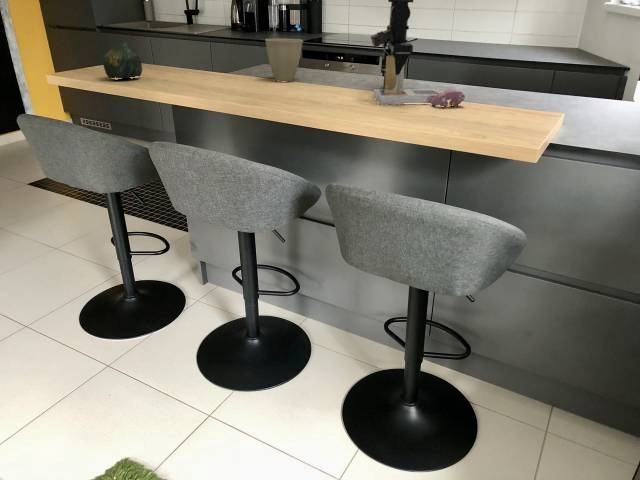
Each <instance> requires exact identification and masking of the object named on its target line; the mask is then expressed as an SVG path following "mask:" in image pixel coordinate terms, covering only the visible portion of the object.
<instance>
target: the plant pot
mask: <svg viewBox="0 0 640 480" xmlns="http://www.w3.org/2000/svg"><path fill="white" fill-rule="evenodd" d="M264 40H265V47H266V52H267V57H268V58H267V59H268V60H269V61H268V62H269V66H270V69H271V72H272V75H273V78H274V80H279V81H292V82H293V81H294V80H295V77H296V74H297V71H298V68H299V64H300V60H301V54H302V48H303V41H304V40H303V39H298V38H266V39H264Z"/></svg>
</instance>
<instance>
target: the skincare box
mask: <svg viewBox="0 0 640 480" xmlns="http://www.w3.org/2000/svg"><path fill="white" fill-rule="evenodd" d="M385 70H386V73H385V90H384V94H400V93H402V92H403V89H404V79H405V78H404V76H405V75H404V74H405V73H404V66H403V68H402V70H401V72H400V74H399V75H396V73H395V60H394V57H393V56H392V55H390V56H386V69H385Z"/></svg>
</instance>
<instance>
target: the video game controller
mask: <svg viewBox="0 0 640 480" xmlns="http://www.w3.org/2000/svg"><path fill="white" fill-rule="evenodd" d="M439 92H440V93H438V94H437V95H436V96H435V97H434V98H433V100H432V102H431V104H432V105H434V106H433V107H436V106H438V104H441V105H440V107H442V106H446V107H448V106H450V107H451V106H452V105H453V106H455V105H456V106H458V105H457V104H459V105H460V104H461V103H462V102H463V101H464V100H465V98H466V96H465V94H464V93H463V92H462V91H461V90H460V89H459V90H457V89H452V88H451V89H446V90H445V91H444V90H440V91H439ZM448 101H449V102H448ZM448 104H449V105H448ZM432 105H431V106H432ZM456 106H455V107H456Z"/></svg>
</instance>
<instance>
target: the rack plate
mask: <svg viewBox="0 0 640 480" xmlns="http://www.w3.org/2000/svg"><path fill="white" fill-rule="evenodd" d="M384 90H385V89H382V88H380V89H379V88H378V89H376V88H375V89H373V99H374V98H375V99H376V100H377V101H378V102H379V103H380V104H404V103H431V102H432V100H433V98H434V97H435V96H436V95H437V94H438V93H440V92H441V91H439V90H438V89H434V88H433V89H431V88H429V89H426V88H424V89H419V88H418V89H417V88H416V89H414V88H412V89H410V88H409V89H406V88H403V92H402V93H400V94H384ZM375 99H374V100H375ZM376 100H375V101H376ZM377 101H376V102H377ZM378 102H377V103H378ZM379 103H378V104H379ZM380 104H379V105H380Z"/></svg>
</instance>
